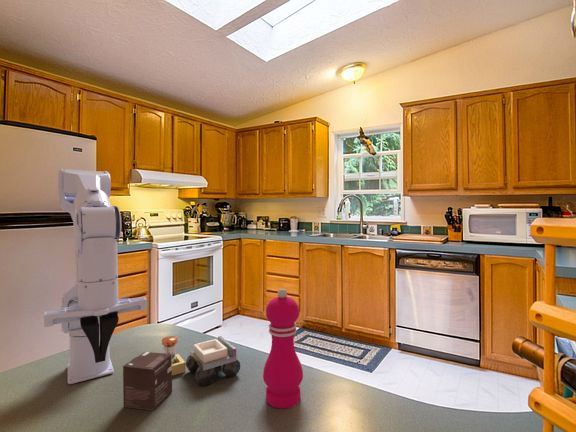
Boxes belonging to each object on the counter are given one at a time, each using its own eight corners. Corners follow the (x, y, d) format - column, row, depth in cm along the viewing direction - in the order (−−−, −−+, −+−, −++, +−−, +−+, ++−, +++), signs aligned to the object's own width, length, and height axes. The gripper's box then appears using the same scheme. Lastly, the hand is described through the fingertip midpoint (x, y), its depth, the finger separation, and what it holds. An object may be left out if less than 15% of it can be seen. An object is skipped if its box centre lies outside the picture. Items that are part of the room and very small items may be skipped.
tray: (193, 351, 67) (193, 344, 67) (216, 346, 70) (216, 338, 70) (203, 362, 63) (203, 354, 63) (227, 356, 65) (227, 348, 65)
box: (153, 412, 54) (152, 369, 54) (122, 407, 55) (121, 366, 55) (173, 391, 60) (172, 353, 60) (144, 388, 61) (144, 350, 61)
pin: (160, 369, 68) (160, 338, 68) (175, 365, 70) (175, 334, 70) (164, 375, 66) (163, 343, 66) (179, 371, 68) (179, 339, 68)
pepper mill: (297, 385, 62) (296, 283, 62) (307, 407, 55) (307, 292, 55) (260, 389, 60) (259, 285, 60) (266, 413, 53) (265, 294, 53)
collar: (155, 369, 69) (155, 359, 69) (178, 362, 72) (178, 353, 72) (160, 379, 65) (160, 369, 65) (185, 371, 67) (185, 362, 67)
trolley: (185, 371, 67) (185, 344, 67) (225, 360, 73) (224, 334, 73) (198, 388, 61) (198, 358, 61) (240, 374, 66) (240, 347, 66)
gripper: (42, 290, 46) (44, 383, 46) (150, 277, 54) (151, 356, 54) (44, 281, 51) (46, 364, 52) (142, 271, 60) (143, 342, 60)
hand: (100, 359), depth 53 cm, fingers closed
